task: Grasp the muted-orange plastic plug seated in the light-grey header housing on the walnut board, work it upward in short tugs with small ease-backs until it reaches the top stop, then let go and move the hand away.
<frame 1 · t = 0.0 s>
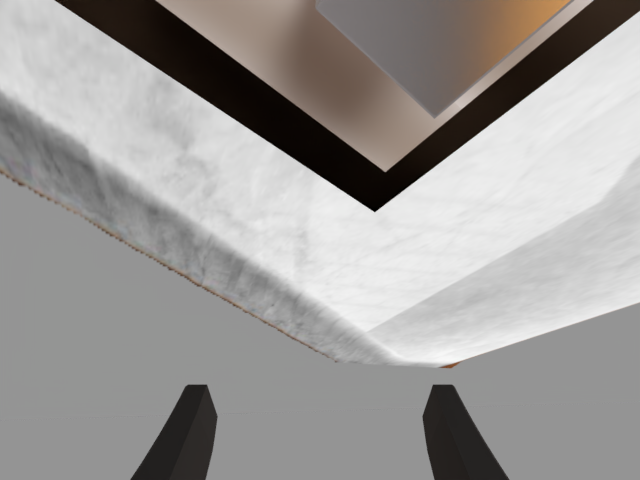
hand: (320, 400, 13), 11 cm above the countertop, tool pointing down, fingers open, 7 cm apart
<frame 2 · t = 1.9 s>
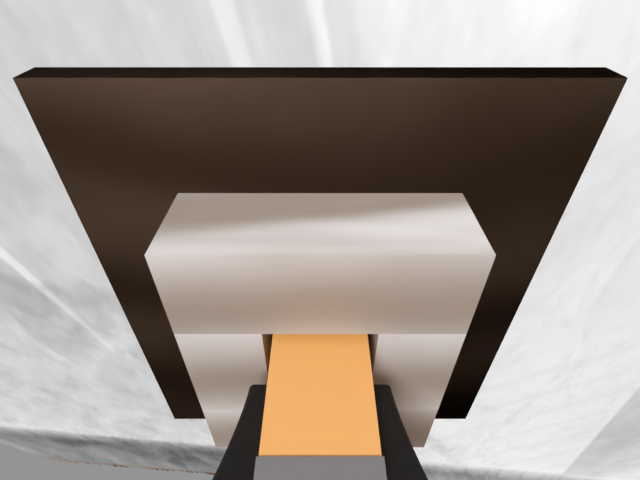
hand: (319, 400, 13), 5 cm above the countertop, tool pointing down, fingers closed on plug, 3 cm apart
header: (320, 291, 16), on the countertop
plug: (320, 310, 16), point 1 cm above the countertop, slide at 0.0 cm, touching gripper
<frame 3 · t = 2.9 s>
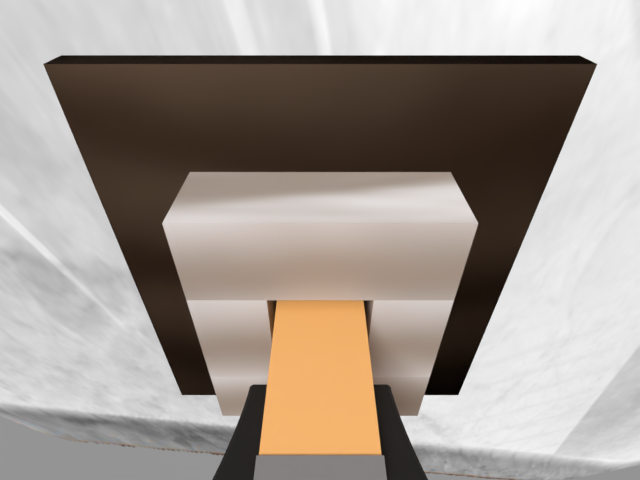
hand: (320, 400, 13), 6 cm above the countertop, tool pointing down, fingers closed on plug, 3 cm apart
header: (320, 269, 18), on the countertop
plug: (320, 310, 16), point 2 cm above the countertop, slide at 1.4 cm, touching gripper
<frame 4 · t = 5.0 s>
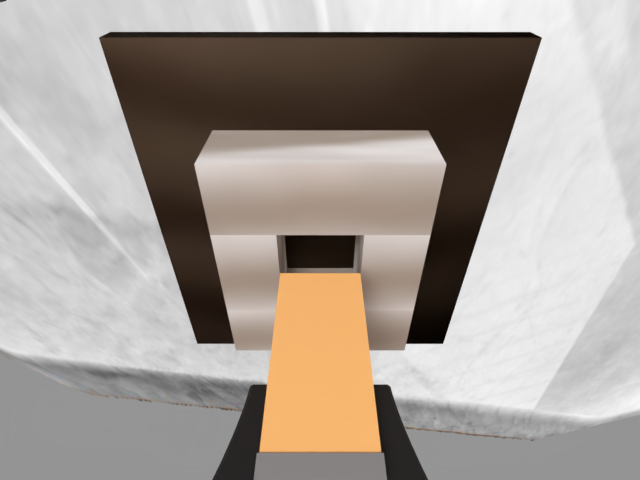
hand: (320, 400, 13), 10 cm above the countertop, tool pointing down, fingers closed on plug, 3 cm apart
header: (320, 222, 20), on the countertop
plug: (320, 309, 16), point 6 cm above the countertop, slide at 4.9 cm, touching gripper
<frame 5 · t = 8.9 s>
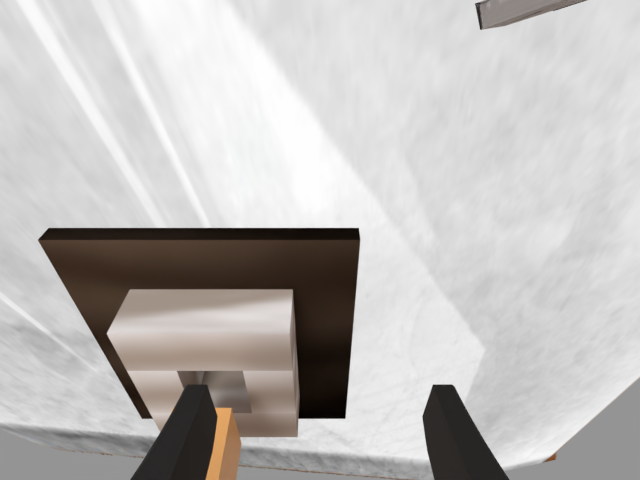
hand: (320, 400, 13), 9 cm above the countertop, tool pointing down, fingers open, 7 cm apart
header: (229, 336, 26), on the countertop
plug: (209, 426, 21), point 6 cm above the countertop, slide at 4.9 cm
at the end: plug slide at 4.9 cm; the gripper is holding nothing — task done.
